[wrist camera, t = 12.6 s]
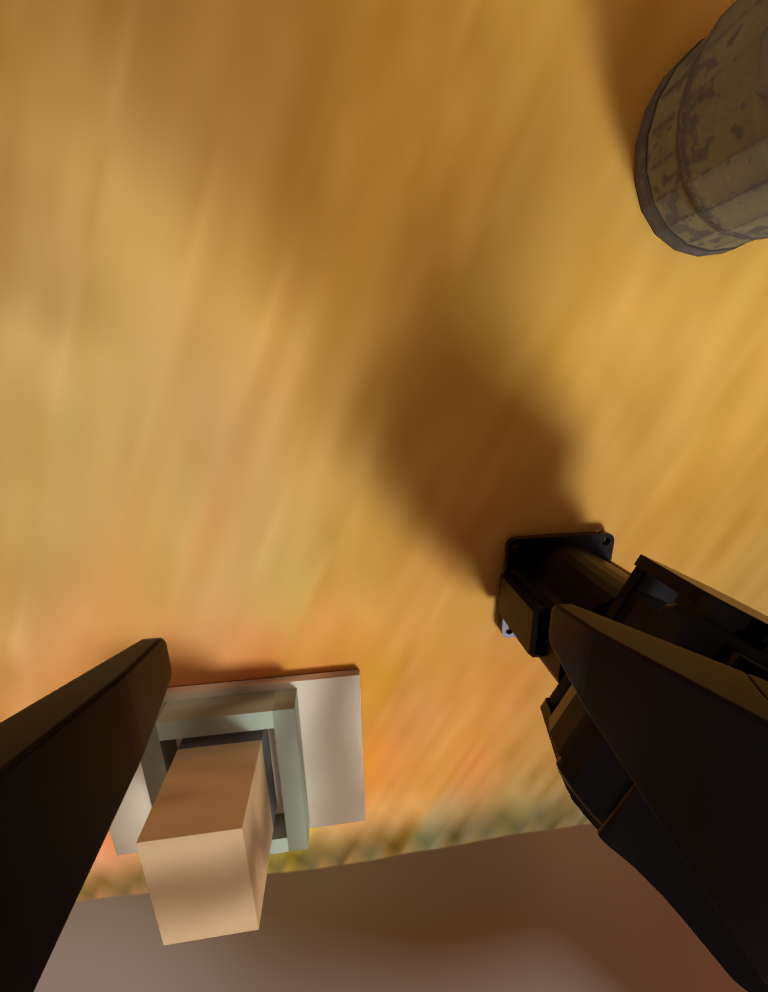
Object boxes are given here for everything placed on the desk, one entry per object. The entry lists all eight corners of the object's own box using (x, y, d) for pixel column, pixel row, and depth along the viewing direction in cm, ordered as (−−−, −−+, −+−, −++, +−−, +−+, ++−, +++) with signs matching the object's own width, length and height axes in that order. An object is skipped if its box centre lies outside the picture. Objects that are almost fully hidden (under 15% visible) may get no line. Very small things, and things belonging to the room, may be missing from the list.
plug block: (277, 803, 25) (258, 929, 19) (205, 813, 24) (163, 945, 18) (266, 717, 23) (242, 828, 17) (188, 726, 22) (136, 842, 17)
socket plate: (359, 669, 23) (360, 694, 21) (364, 812, 26) (367, 845, 24) (78, 696, 21) (53, 726, 20) (121, 846, 25) (103, 884, 23)
